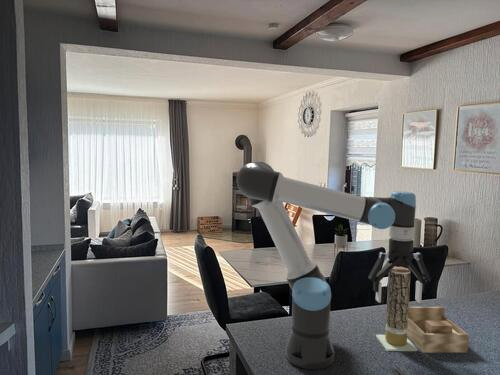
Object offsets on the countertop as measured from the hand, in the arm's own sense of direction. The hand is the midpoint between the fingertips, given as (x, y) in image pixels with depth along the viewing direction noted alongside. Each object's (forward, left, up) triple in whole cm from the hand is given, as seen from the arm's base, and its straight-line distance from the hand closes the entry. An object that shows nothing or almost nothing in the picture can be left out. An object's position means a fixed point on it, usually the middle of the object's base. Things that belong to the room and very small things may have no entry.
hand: (398, 301), depth 125 cm
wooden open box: (+14, +2, -15) cm, 20 cm away
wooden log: (0, 0, -14) cm, 14 cm away
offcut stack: (+14, -3, -15) cm, 20 cm away
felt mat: (0, 0, -15) cm, 15 cm away
